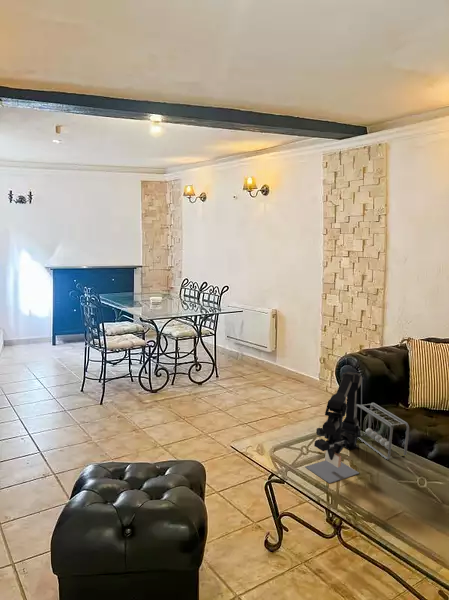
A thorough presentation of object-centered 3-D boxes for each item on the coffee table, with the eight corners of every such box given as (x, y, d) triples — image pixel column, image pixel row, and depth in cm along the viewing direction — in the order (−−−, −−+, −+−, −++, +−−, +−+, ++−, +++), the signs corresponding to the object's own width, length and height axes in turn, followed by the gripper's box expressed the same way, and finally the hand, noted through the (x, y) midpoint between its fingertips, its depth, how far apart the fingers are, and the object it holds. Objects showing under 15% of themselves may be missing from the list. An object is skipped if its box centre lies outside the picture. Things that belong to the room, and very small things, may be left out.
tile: (327, 458, 234) (328, 448, 233) (340, 466, 228) (341, 455, 227) (325, 459, 233) (325, 449, 232) (337, 467, 227) (338, 456, 226)
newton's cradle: (352, 435, 270) (355, 402, 267) (369, 432, 274) (372, 401, 271) (388, 461, 243) (391, 426, 240) (406, 459, 246) (410, 423, 243)
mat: (334, 458, 244) (334, 457, 244) (359, 473, 230) (359, 472, 230) (304, 467, 234) (305, 466, 234) (329, 483, 221) (329, 482, 221)
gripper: (338, 415, 239) (335, 447, 242) (307, 423, 229) (305, 456, 232) (355, 424, 230) (353, 457, 232) (324, 433, 220) (321, 467, 223)
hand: (332, 459), depth 230 cm, fingers closed on tile, 2 cm apart
